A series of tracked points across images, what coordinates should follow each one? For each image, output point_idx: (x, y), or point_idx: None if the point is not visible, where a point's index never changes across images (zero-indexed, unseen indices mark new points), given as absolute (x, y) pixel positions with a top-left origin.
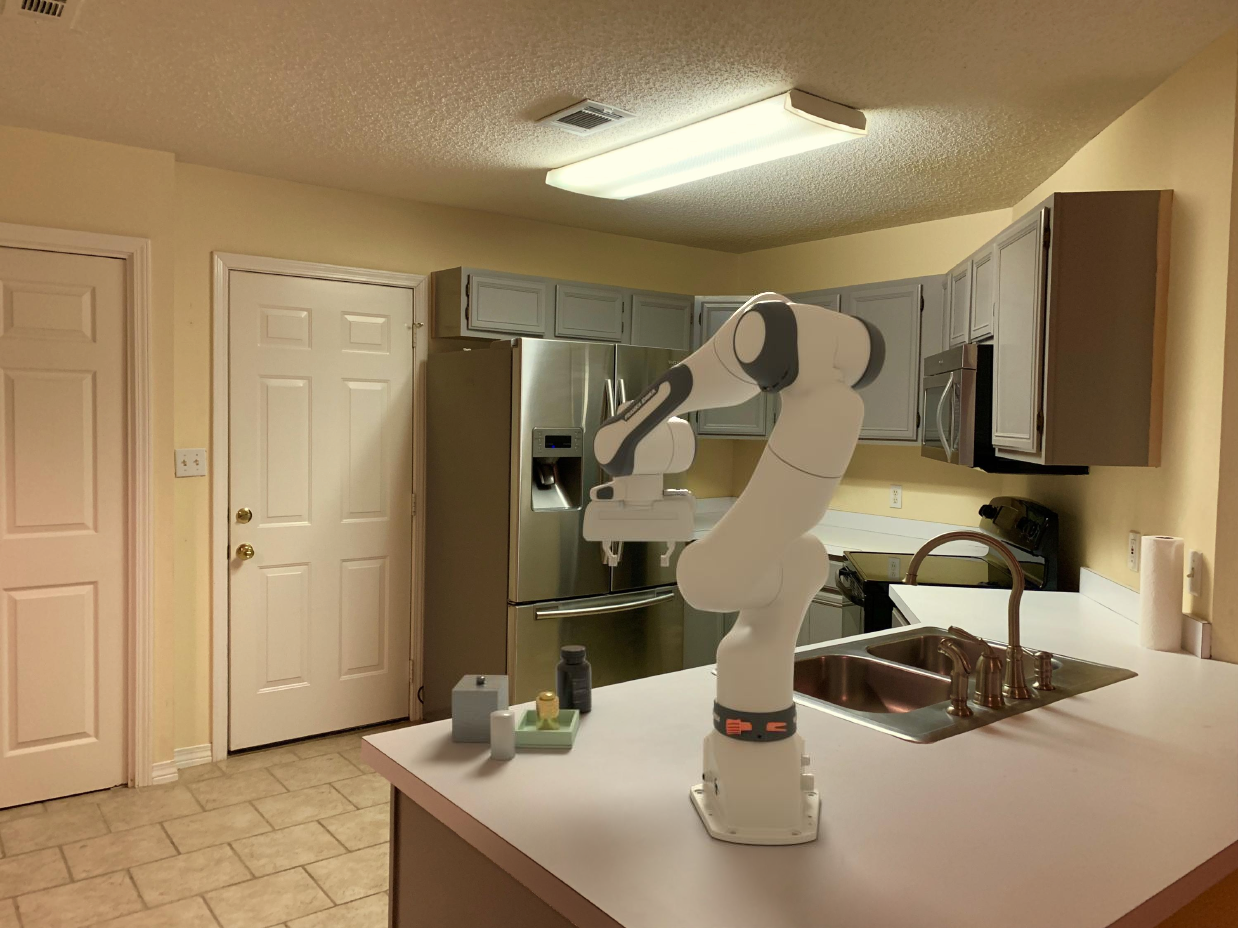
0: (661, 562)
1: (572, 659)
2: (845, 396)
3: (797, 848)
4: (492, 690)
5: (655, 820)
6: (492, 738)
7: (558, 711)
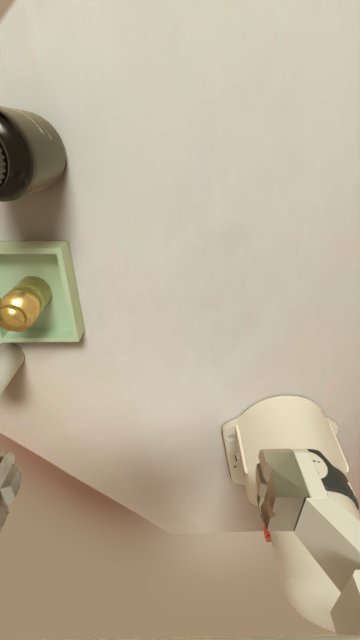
0: (262, 495)
1: None
2: None
3: None
4: None
5: (191, 460)
6: None
7: (40, 307)
